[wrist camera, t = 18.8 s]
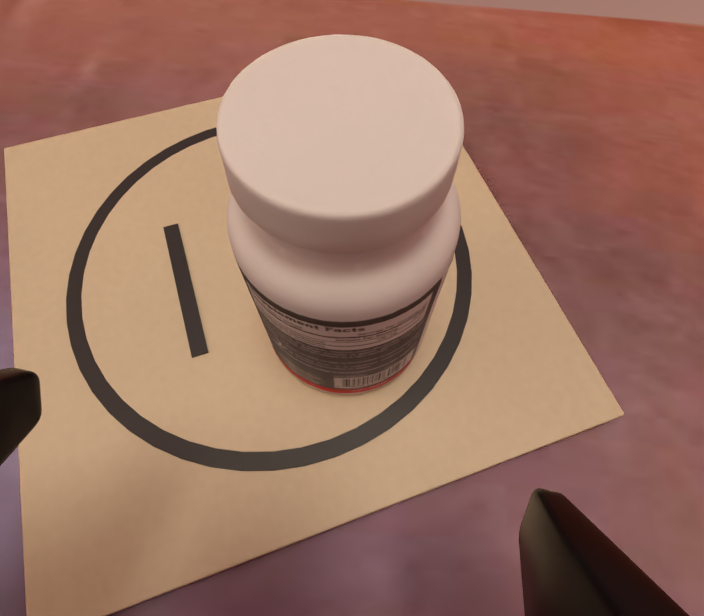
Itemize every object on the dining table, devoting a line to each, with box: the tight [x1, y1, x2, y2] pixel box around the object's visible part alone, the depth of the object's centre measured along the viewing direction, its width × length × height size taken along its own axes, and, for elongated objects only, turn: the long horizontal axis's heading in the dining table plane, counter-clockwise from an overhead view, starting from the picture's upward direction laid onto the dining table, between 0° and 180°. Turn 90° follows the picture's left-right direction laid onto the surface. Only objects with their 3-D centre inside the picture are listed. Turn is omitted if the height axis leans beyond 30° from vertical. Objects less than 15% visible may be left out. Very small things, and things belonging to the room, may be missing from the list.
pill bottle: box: [216, 35, 464, 394], centre depth 13 cm, size 6×6×10 cm
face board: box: [4, 97, 624, 616], centre depth 19 cm, size 20×20×1 cm
